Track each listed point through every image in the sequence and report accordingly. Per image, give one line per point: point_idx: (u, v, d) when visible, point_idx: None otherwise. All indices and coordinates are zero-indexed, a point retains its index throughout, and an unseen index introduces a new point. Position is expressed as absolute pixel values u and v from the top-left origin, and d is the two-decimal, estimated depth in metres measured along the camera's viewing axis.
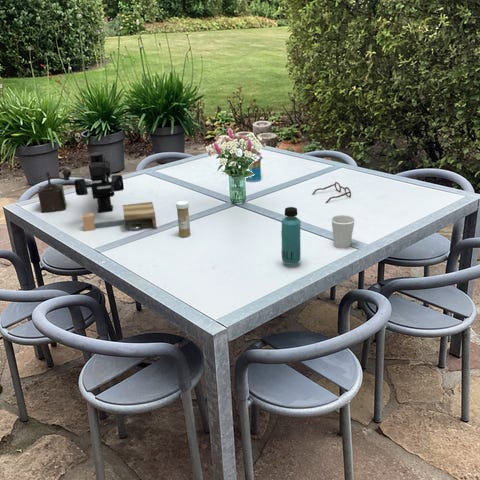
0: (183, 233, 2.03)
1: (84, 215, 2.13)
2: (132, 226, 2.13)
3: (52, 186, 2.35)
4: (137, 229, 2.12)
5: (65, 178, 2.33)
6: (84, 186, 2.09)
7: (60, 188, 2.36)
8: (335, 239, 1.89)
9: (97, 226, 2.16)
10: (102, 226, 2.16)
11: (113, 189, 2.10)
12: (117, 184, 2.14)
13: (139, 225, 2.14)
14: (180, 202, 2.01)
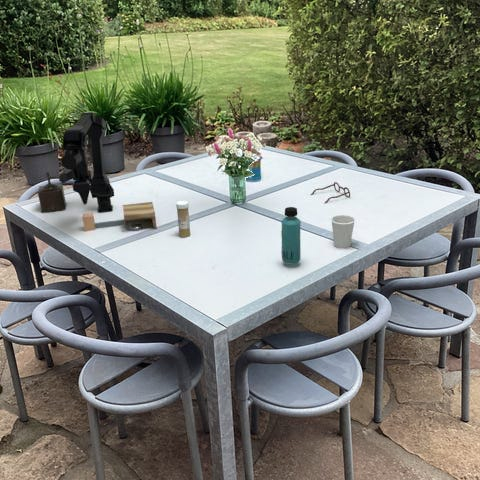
0: (183, 233, 2.03)
1: (84, 215, 2.13)
2: (132, 226, 2.13)
3: (52, 186, 2.35)
4: (137, 229, 2.12)
5: None
6: None
7: (60, 188, 2.36)
8: (335, 239, 1.89)
9: (97, 226, 2.16)
10: (102, 226, 2.16)
11: (85, 199, 2.06)
12: None
13: (139, 225, 2.14)
14: (180, 202, 2.01)
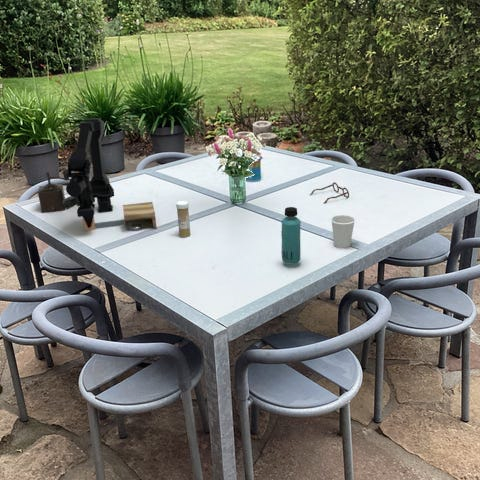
0: (183, 233, 2.03)
1: None
2: (132, 226, 2.13)
3: (52, 186, 2.35)
4: (137, 229, 2.12)
5: (65, 178, 2.33)
6: None
7: (60, 188, 2.36)
8: (335, 239, 1.89)
9: (97, 226, 2.16)
10: (102, 226, 2.16)
11: (90, 222, 2.12)
12: None
13: (139, 225, 2.14)
14: (180, 202, 2.01)
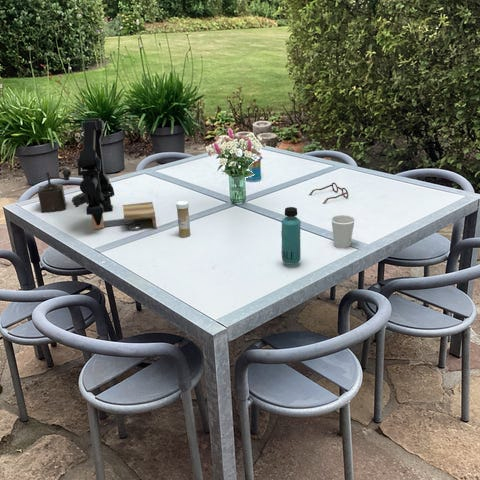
0: (183, 233, 2.03)
1: None
2: (132, 226, 2.13)
3: (52, 186, 2.35)
4: (137, 229, 2.12)
5: (65, 178, 2.33)
6: None
7: (60, 188, 2.36)
8: (335, 239, 1.89)
9: (106, 224, 2.16)
10: (111, 224, 2.17)
11: (99, 220, 2.13)
12: None
13: (139, 225, 2.14)
14: (180, 202, 2.01)
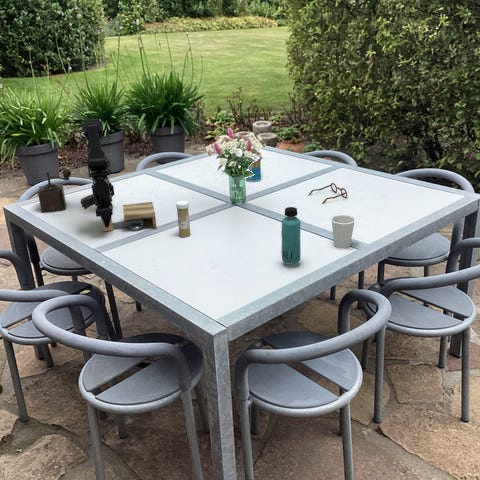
0: (183, 233, 2.03)
1: None
2: (132, 226, 2.13)
3: (52, 186, 2.35)
4: (137, 229, 2.12)
5: (65, 178, 2.33)
6: None
7: (60, 188, 2.36)
8: (335, 239, 1.89)
9: (115, 226, 2.14)
10: (120, 226, 2.14)
11: (107, 222, 2.10)
12: None
13: (139, 225, 2.13)
14: (180, 202, 2.01)
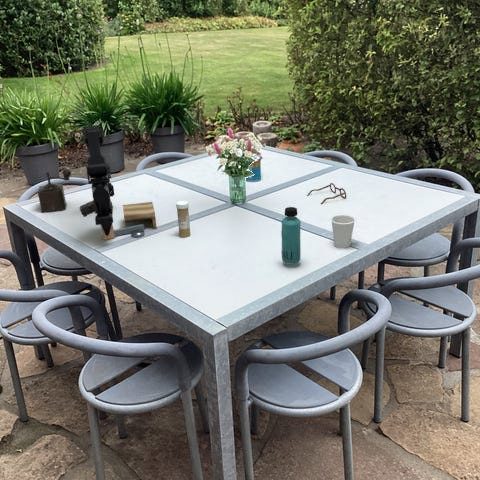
0: (183, 233, 2.03)
1: None
2: (134, 233, 2.07)
3: (52, 186, 2.35)
4: (139, 236, 2.06)
5: (65, 178, 2.33)
6: None
7: (60, 188, 2.36)
8: (335, 239, 1.89)
9: (116, 233, 2.07)
10: (121, 233, 2.08)
11: (108, 231, 2.03)
12: None
13: (141, 231, 2.07)
14: (180, 202, 2.01)
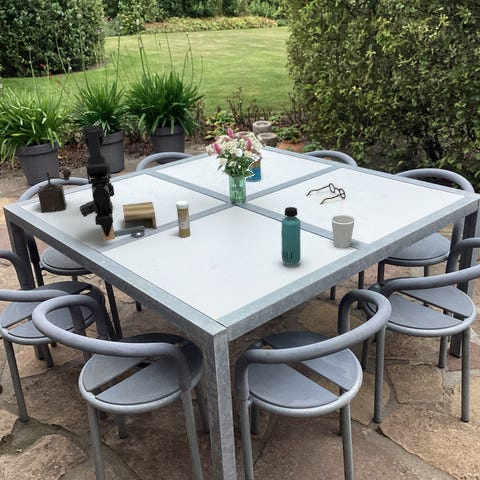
0: (183, 233, 2.03)
1: None
2: (134, 233, 2.07)
3: (52, 186, 2.35)
4: (139, 236, 2.06)
5: (65, 178, 2.33)
6: None
7: (60, 188, 2.36)
8: (335, 239, 1.89)
9: (116, 234, 2.07)
10: (121, 234, 2.08)
11: (108, 232, 2.02)
12: None
13: (141, 231, 2.07)
14: (180, 202, 2.01)
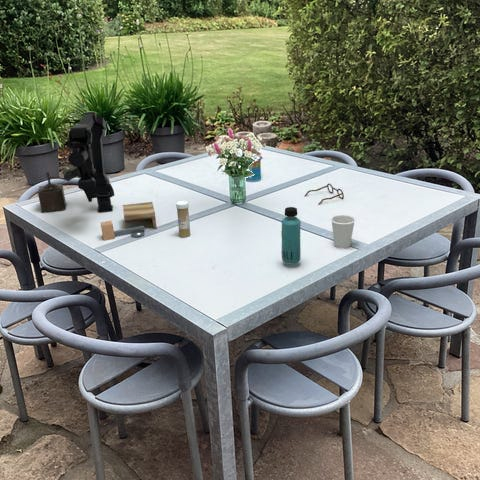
0: (183, 233, 2.03)
1: (103, 224, 2.04)
2: (134, 233, 2.07)
3: (52, 186, 2.35)
4: (139, 236, 2.06)
5: None
6: None
7: (60, 188, 2.36)
8: (335, 239, 1.89)
9: (116, 234, 2.07)
10: (121, 234, 2.08)
11: (90, 197, 2.07)
12: None
13: (141, 231, 2.07)
14: (180, 202, 2.01)
